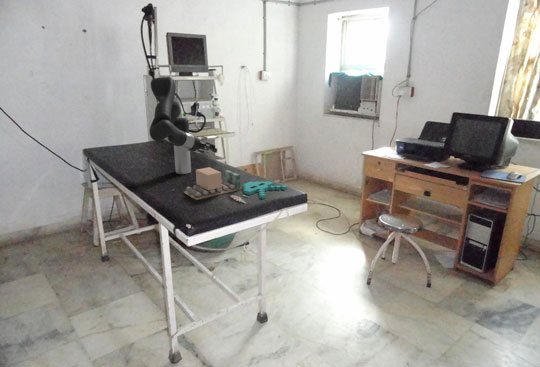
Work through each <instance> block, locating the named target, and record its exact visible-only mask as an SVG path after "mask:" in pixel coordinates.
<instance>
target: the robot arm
mask: <svg viewBox="0 0 540 367" xmlns="http://www.w3.org/2000/svg"><path fill="white" fill-rule="evenodd" d="M150 88H151V92H152V94H153V96H154V98H155V99H156V100H157V104H156V106H155V108H154V117H153V120H152V121H151V124H150V127H149V132H148V133H149V136H150V138H151V139H152V140H153V141H155V142H163V141H164V140H165V139H167V140H168V142H169V143H170V144H172V145H173V151H174V165H175V166H174V168H175V173H176V174H179V175H186V174H190V173H191V172H192V162H191V153H194V152H198V153H201V154H205V152H208V151H209V152H212V153H216V154H217V153H218V148H216V145H214V144H212V143H210V142H208V141H207V142H203V141H201V140H200V138H199V137H198V136H195V135H193V134H191V133H190V121H189V119H188V118H187V117H179V116H180V115H181V112H182V110H181V107H180V104H179V102H178V100H176V99H175V96H176V92H177V91H176V90H177V88H176V84H175V79H174V78H173V77H170V76H165V77H164V76H163V77H154V78H152V79H151V81H150Z"/></svg>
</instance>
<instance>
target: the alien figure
mask: <svg viewBox="0 0 540 367" xmlns="http://www.w3.org/2000/svg"><path fill="white" fill-rule="evenodd" d="M287 189H288V185H284V184H283V185H275V182H272V181H269V180H267V181H263V180H261V181H258V180H256V181H247V182H245V183H242V192H243V193H242V194H245V195H249V196H251V195H253V194H256V193H258V196H259V199H261V198H262V199H266V198H267V197H266V194H267V193H266V192H267V191H269V190H270V191H275V190H276V191H280V190H282V191H286V190H287ZM262 199H261V200H262Z"/></svg>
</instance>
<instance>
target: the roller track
mask: <svg viewBox="0 0 540 367" xmlns="http://www.w3.org/2000/svg"><path fill="white" fill-rule="evenodd" d="M221 180H222V187H221V188H216V189H212V190H207V189H205V188H203V187H201V186H199V185H197V184H195V185H193V186H192V187H191V186H186V187H185V190H184V191H183V192H184V194H186V195H187V196H189V197H190V198H192V199H194V200H196V201H199V200H203V199H207V198H212V197H215V196H220V195H224V194H228V193H233V192H236V191H240V190H243V187H241V174H239V173H237V172H234V171H231V170H228V169H225V170H224V180H223V179H221Z"/></svg>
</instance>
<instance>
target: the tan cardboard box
mask: <svg viewBox="0 0 540 367" xmlns="http://www.w3.org/2000/svg"><path fill="white" fill-rule="evenodd" d="M195 176H196V177H195V180H196V186H198V187H200V186H201V187H203V188H205V189H207V190H212V189H216V188H221V187H222V180H223V179H222V172H221V171H219V170H216V169H214V168H212V167H209V166H208V167H203V168H198V169H195Z"/></svg>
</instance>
